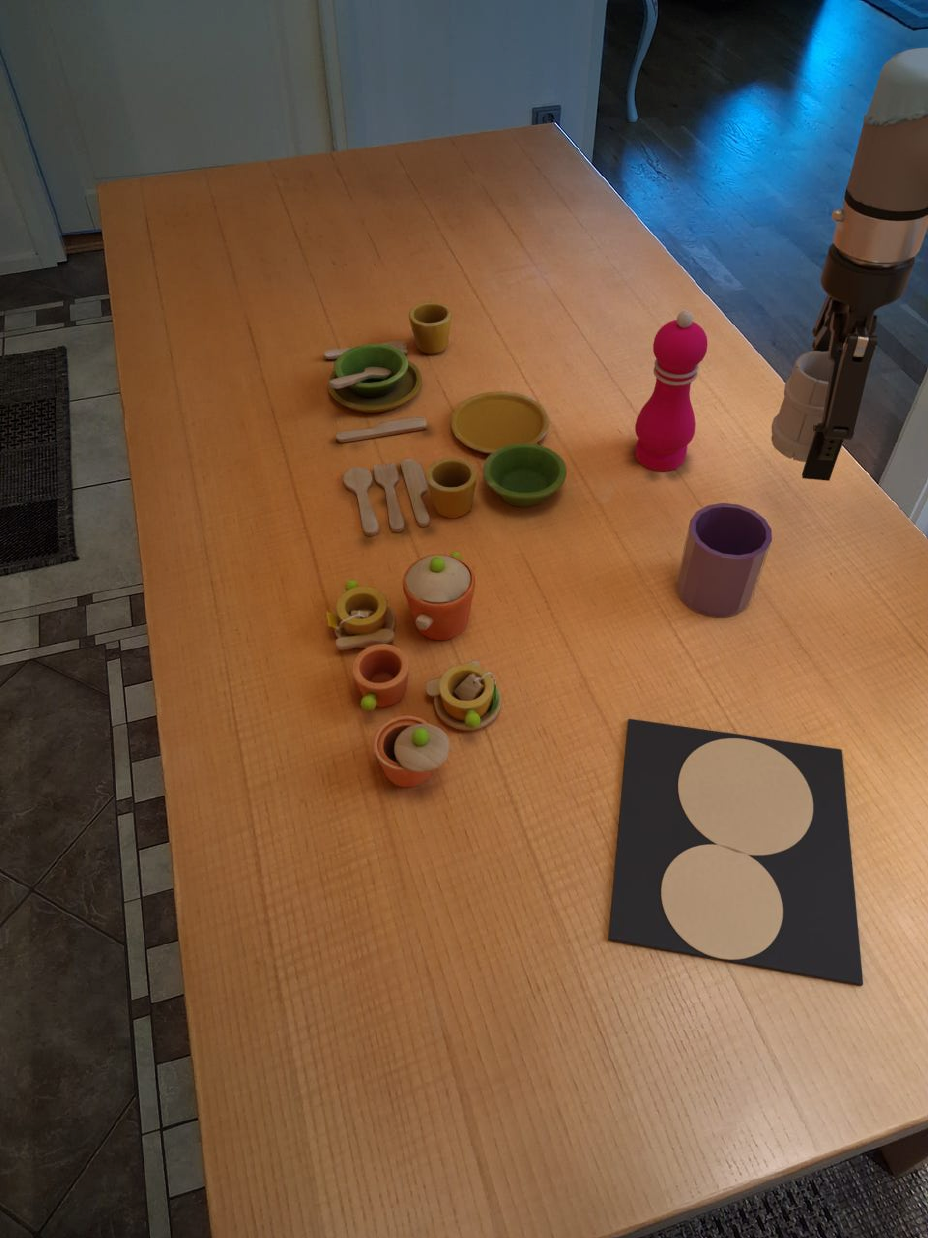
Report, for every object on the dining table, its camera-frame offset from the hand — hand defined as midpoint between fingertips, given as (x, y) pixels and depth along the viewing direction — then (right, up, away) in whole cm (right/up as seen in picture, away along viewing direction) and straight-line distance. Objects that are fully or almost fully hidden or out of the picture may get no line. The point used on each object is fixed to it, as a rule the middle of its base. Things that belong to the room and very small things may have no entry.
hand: (812, 440), depth 98 cm
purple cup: (-11, -16, +1) cm, 19 cm away
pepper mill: (-13, +1, +16) cm, 20 cm away
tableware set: (-41, +6, +21) cm, 47 cm away
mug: (0, -1, +2) cm, 2 cm away
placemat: (-14, -39, -19) cm, 46 cm away
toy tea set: (-42, -26, -7) cm, 50 cm away
